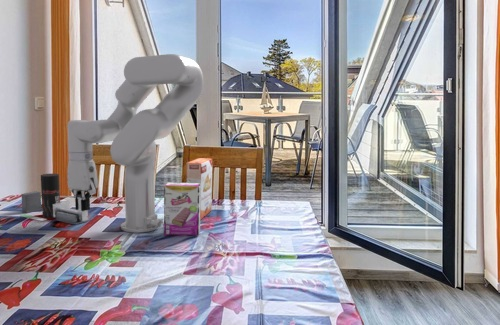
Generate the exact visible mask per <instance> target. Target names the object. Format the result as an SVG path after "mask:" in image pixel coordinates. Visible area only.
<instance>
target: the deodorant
mask: <svg viewBox="0 0 500 325" xmlns="http://www.w3.org/2000/svg"><path fill="white" fill-rule="evenodd" d="M40 189H41V190H40V192H41V211H42V218H44V219H51V218H54V217H53V204H55V203H59V202H61V192H60V191H61V190H60V174H59V173H44V174H43V173H42V174H40Z"/></svg>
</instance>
